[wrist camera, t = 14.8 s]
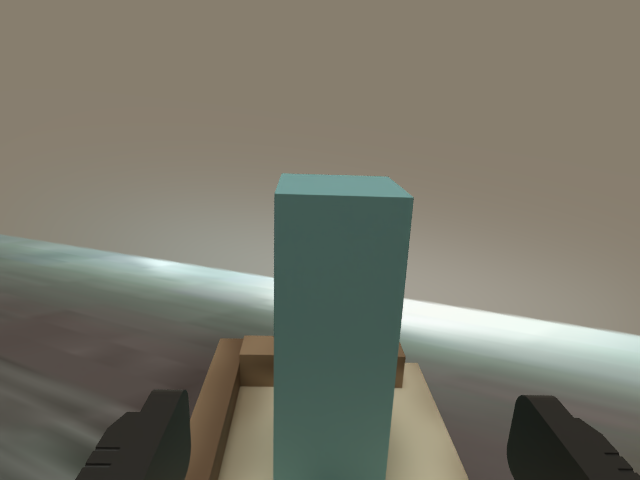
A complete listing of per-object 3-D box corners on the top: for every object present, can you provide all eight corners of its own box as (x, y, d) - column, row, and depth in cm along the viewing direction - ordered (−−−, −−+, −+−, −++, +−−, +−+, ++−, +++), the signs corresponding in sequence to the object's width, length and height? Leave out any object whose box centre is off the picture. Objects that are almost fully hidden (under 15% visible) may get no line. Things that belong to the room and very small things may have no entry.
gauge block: (368, 413, 22) (388, 176, 18) (384, 488, 17) (413, 197, 14) (279, 412, 21) (281, 173, 18) (273, 488, 17) (274, 193, 14)
